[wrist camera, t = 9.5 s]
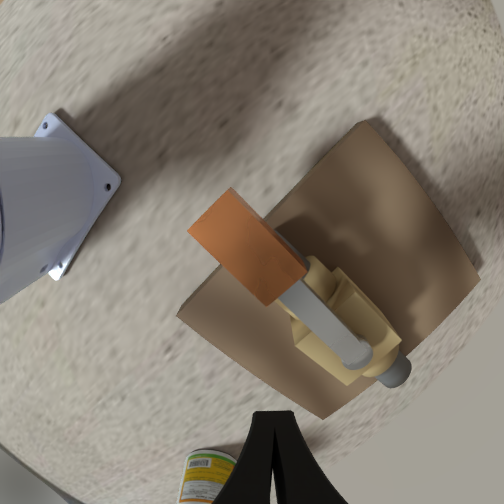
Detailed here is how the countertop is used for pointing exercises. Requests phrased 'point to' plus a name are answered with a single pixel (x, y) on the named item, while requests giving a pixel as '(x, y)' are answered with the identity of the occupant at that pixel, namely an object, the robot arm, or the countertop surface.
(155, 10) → the countertop surface
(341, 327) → the valve lever
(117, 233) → the countertop surface
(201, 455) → the supplement bottle
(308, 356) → the valve base
